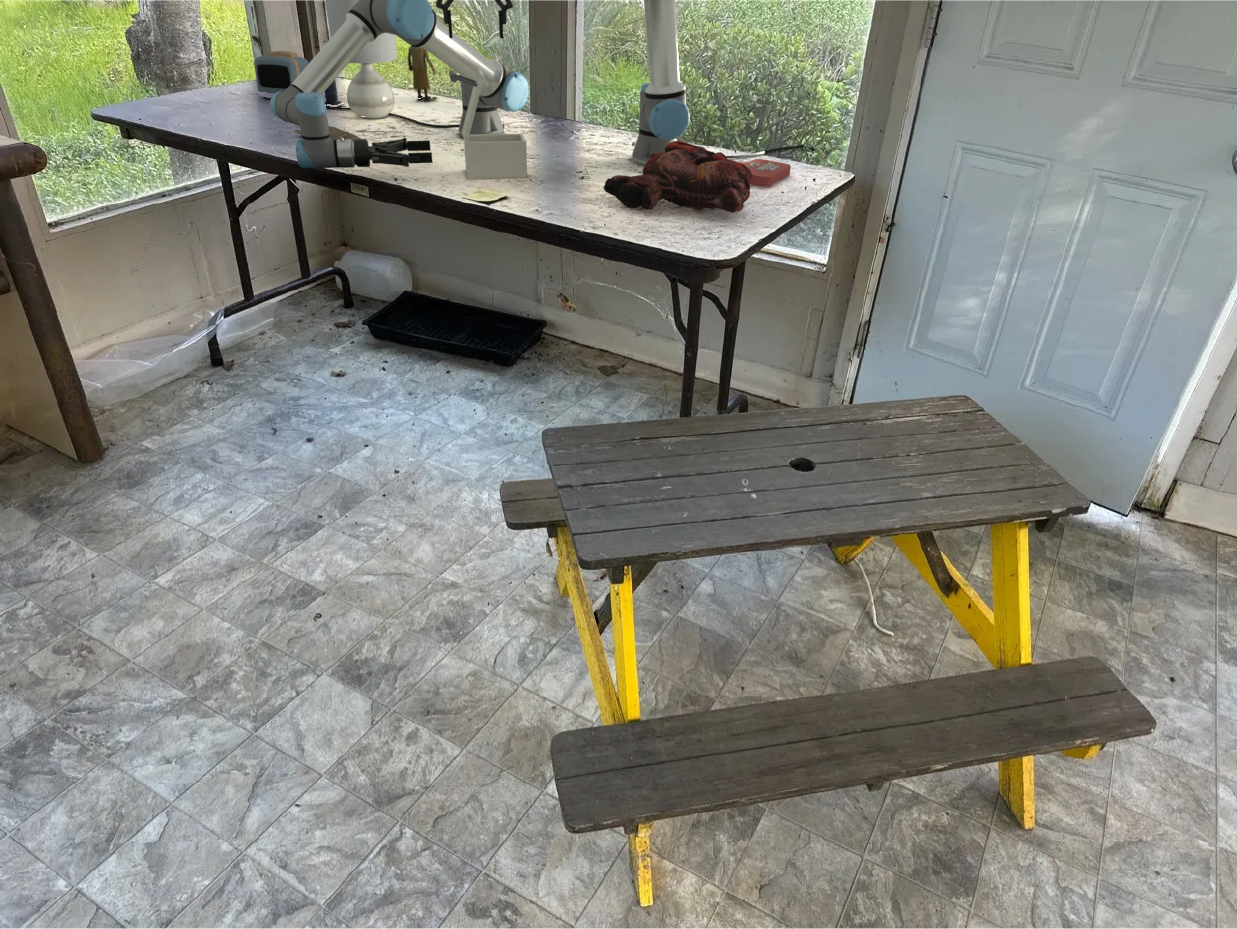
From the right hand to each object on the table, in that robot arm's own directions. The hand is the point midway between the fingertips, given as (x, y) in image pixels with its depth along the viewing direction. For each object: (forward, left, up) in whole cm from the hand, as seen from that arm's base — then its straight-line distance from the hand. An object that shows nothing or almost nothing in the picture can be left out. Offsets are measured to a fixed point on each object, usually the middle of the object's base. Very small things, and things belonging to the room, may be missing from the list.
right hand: (476, 37), depth 230 cm
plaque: (-77, +26, -36) cm, 89 cm away
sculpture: (-42, +44, -36) cm, 71 cm away
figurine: (-4, -106, -36) cm, 112 cm away
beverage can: (+32, -102, -36) cm, 113 cm away
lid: (+2, 0, -17) cm, 17 cm away
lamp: (+20, -83, -36) cm, 92 cm away
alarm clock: (+46, -125, -36) cm, 138 cm away
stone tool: (+38, -52, -36) cm, 74 cm away
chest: (-4, +1, -36) cm, 36 cm away
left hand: (+14, -2, -29) cm, 33 cm away
